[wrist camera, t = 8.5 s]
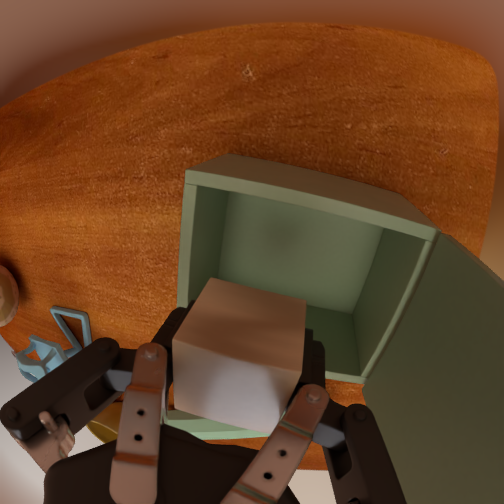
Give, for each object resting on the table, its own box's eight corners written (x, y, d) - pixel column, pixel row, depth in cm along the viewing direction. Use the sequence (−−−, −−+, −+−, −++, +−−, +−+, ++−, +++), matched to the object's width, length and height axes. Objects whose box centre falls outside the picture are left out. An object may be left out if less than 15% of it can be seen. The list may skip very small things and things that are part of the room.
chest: (210, 283, 29) (176, 341, 21) (227, 152, 23) (185, 168, 15) (355, 317, 27) (365, 384, 19) (400, 193, 22) (442, 230, 14)
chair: (71, 347, 39) (30, 395, 29) (52, 305, 36) (2, 351, 25) (105, 357, 38) (64, 413, 27) (86, 312, 35) (33, 368, 24)
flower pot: (98, 401, 46) (81, 427, 39) (110, 384, 41) (90, 414, 35) (141, 430, 47) (127, 458, 40) (159, 418, 42) (143, 450, 36)
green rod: (164, 448, 36) (327, 441, 27) (147, 417, 36) (313, 400, 27) (184, 429, 41) (334, 413, 32) (169, 400, 42) (321, 376, 33)
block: (306, 299, 13) (302, 373, 9) (284, 366, 15) (272, 435, 11) (210, 276, 14) (171, 339, 10) (203, 345, 16) (173, 408, 12)
